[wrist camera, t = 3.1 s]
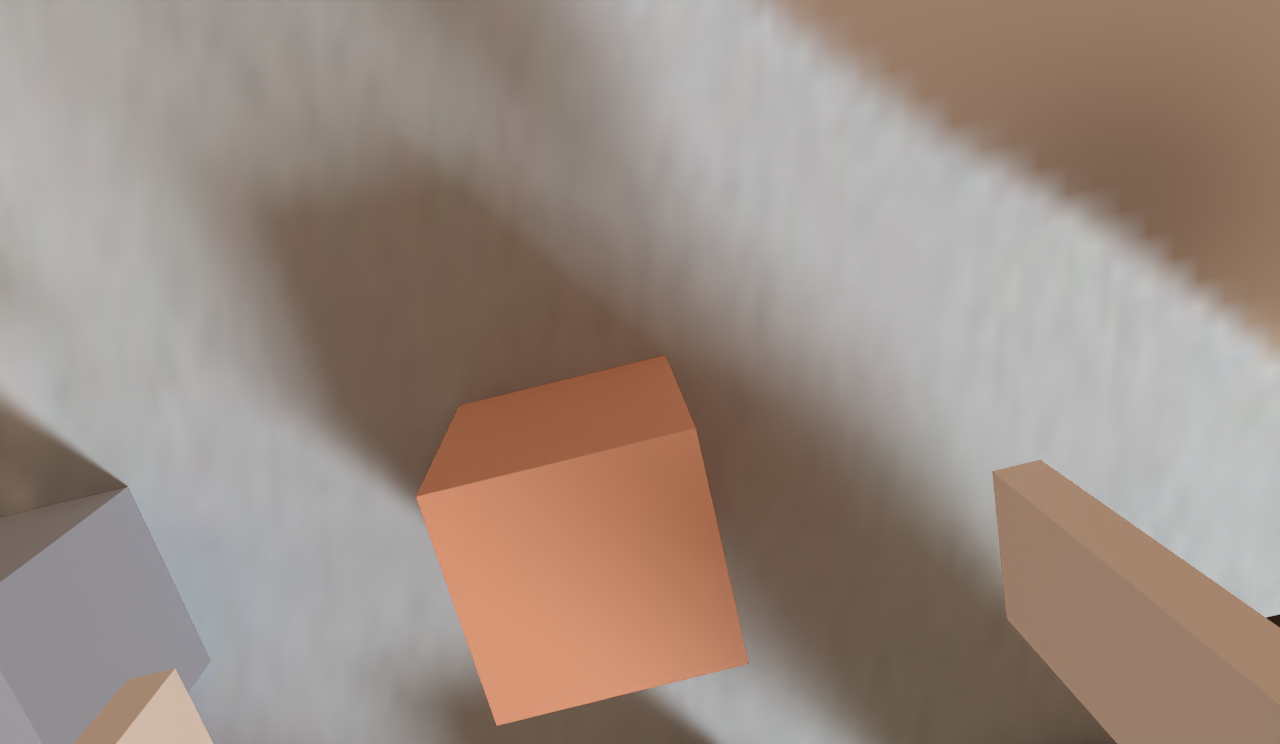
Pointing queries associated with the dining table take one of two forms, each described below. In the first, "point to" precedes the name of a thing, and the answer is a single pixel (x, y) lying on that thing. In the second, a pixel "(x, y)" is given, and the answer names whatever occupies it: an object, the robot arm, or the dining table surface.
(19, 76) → the dining table surface
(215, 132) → the dining table surface
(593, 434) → the cube terracotta
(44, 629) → the cube slate
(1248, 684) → the robot arm
